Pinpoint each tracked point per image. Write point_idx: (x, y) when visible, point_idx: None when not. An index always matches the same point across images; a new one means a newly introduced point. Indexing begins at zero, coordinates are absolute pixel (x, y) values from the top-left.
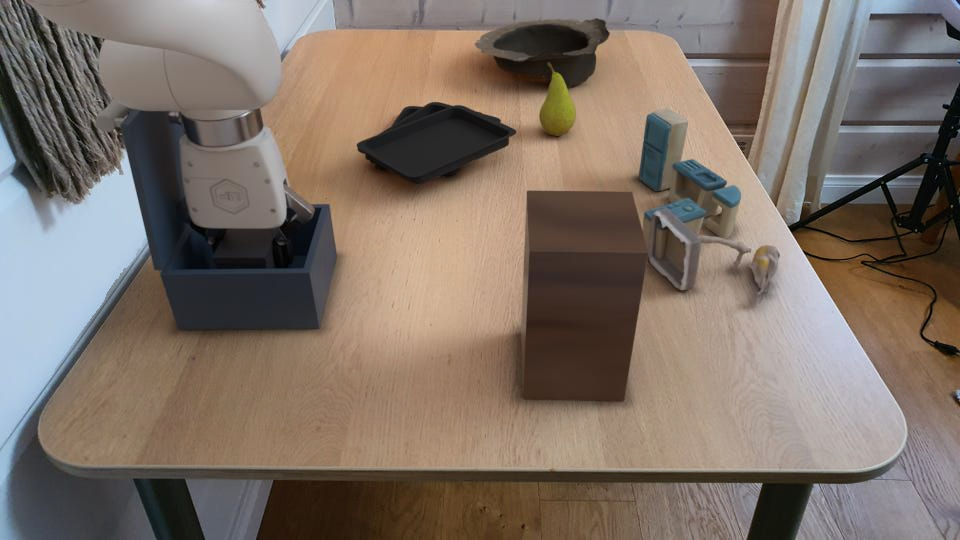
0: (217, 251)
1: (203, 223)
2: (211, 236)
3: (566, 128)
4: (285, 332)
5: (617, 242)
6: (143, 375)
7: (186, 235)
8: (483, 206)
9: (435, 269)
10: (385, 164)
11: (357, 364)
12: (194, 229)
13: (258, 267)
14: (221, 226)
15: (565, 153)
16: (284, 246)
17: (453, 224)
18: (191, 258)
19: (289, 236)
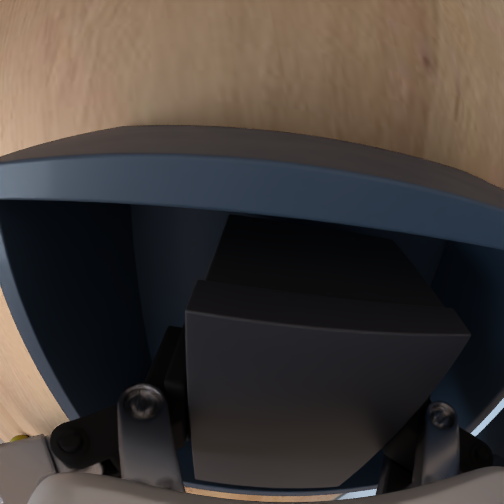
0: (441, 368)
1: (500, 487)
2: (441, 430)
3: (15, 437)
4: (205, 114)
5: None
6: (497, 52)
7: (480, 417)
8: (20, 387)
9: (2, 292)
10: (121, 476)
11: (50, 30)
12: (479, 441)
13: (249, 278)
14: (433, 502)
15: (10, 417)
16: (156, 381)
17: (28, 372)
18: (463, 357)
19: (114, 412)
